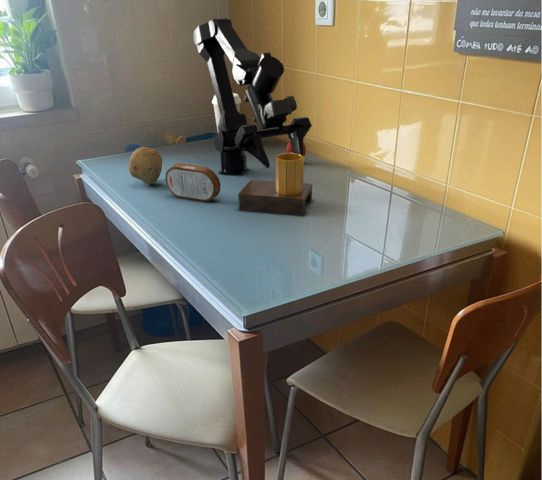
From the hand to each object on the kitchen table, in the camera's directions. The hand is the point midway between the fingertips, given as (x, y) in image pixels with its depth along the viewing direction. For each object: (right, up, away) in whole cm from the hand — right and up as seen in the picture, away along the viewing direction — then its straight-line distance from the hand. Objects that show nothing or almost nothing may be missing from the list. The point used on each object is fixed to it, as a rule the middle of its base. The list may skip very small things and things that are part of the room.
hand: (285, 164), depth 130 cm
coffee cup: (-18, +25, +54) cm, 62 cm away
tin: (-23, -6, +10) cm, 26 cm away
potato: (-37, +1, +20) cm, 43 cm away
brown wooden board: (-2, -8, +6) cm, 10 cm away
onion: (+4, +12, +35) cm, 37 cm away
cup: (+1, -6, +2) cm, 6 cm away
